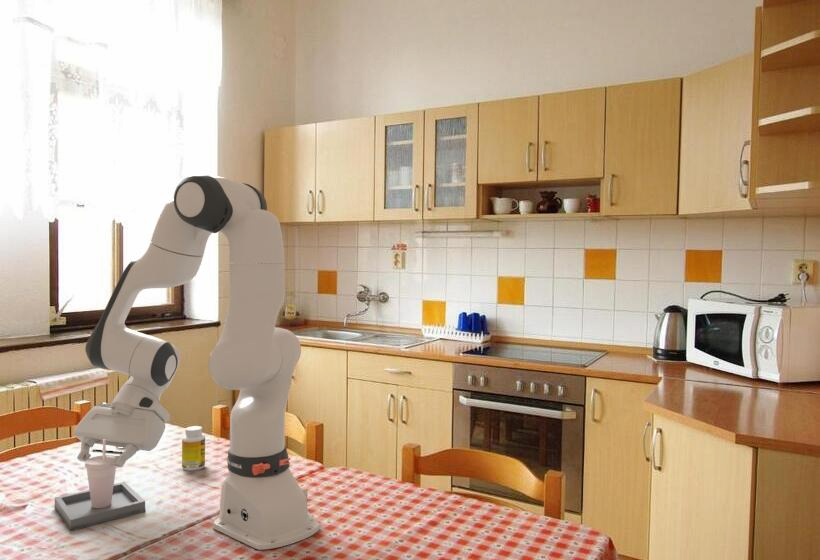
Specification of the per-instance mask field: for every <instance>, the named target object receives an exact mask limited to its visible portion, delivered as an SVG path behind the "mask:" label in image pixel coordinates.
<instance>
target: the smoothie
mask: <svg viewBox="0 0 820 560" xmlns="http://www.w3.org/2000/svg"><path fill="white" fill-rule="evenodd" d="M102 450H103V451H102V455H96V456H93V457H90V458H89V459H87V460H86V461H85V462H84V468H85V469H86V474H87V481H88V488H89V489H88V490H90V497H91V505H92V507H93V508H104V507H107V506H109V505H111V501H112V494H113V487H114V484H115V479H116V472H117V467H116V466H115V465H113V460H115V457H116V456H117V455H111V454H110V455H109V454H106V452H107V451H106V450H107V446H106V439H103V448H102Z"/></svg>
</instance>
